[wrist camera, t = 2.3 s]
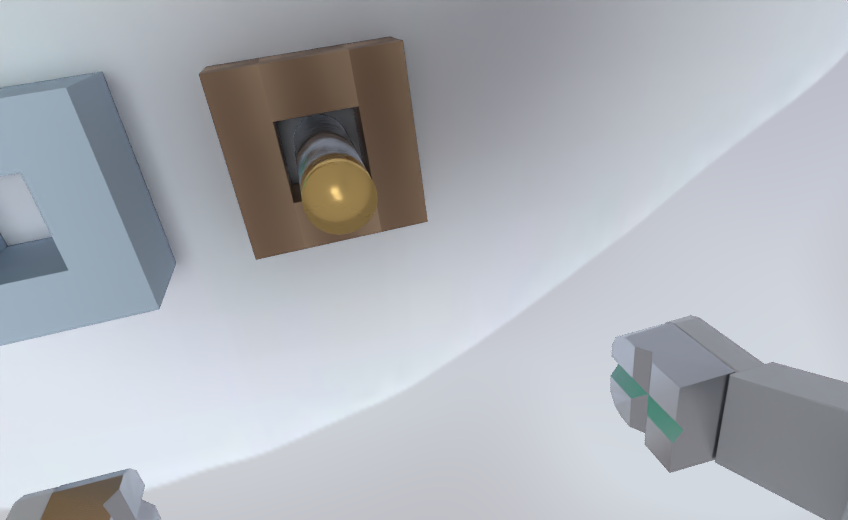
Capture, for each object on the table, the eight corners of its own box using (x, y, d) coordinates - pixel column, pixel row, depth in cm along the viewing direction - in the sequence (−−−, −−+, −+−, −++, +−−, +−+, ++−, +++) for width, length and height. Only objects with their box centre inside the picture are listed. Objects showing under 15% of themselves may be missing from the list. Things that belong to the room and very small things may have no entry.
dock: (101, 71, 25) (65, 87, 21) (175, 263, 29) (159, 309, 25) (-145, 111, 23) (-241, 137, 19) (-26, 306, 28) (-81, 364, 24)
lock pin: (341, 109, 28) (370, 156, 20) (351, 161, 30) (382, 225, 21) (287, 119, 28) (293, 171, 19) (300, 171, 29) (311, 241, 21)
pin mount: (390, 36, 27) (402, 40, 25) (414, 202, 31) (427, 221, 29) (206, 66, 26) (198, 74, 23) (257, 236, 30) (255, 259, 27)
